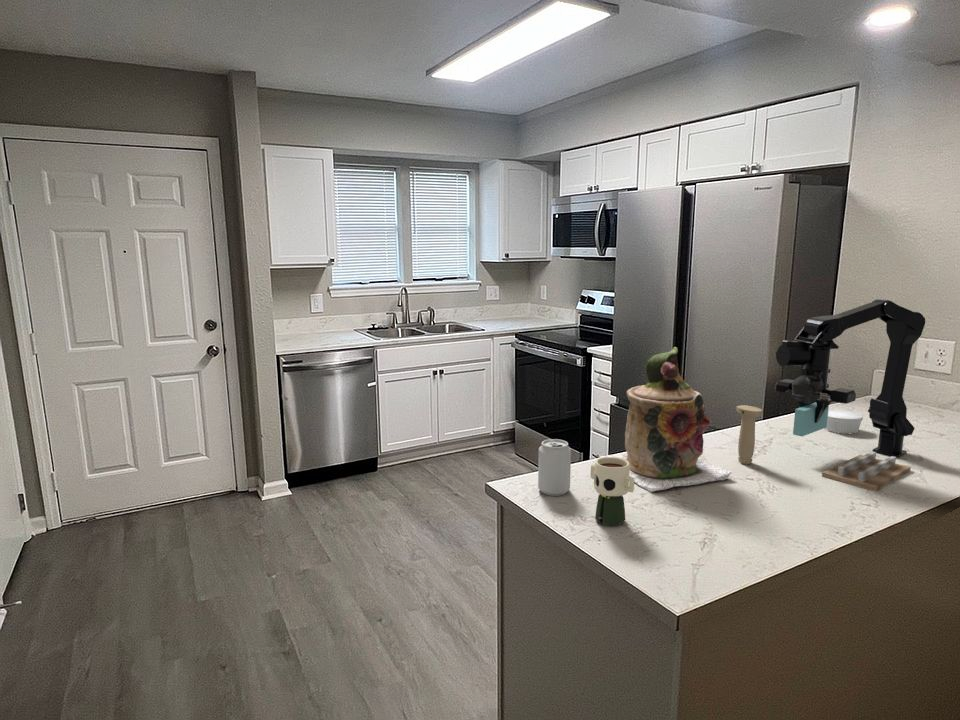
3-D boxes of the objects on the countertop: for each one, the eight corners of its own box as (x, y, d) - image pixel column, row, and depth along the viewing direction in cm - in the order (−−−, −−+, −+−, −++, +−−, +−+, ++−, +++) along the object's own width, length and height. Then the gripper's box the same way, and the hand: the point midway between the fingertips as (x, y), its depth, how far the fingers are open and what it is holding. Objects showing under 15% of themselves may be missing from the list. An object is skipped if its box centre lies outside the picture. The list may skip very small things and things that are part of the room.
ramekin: (811, 427, 194) (813, 411, 193) (835, 423, 199) (836, 408, 198) (845, 437, 184) (847, 420, 183) (868, 432, 189) (870, 416, 188)
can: (549, 499, 139) (550, 449, 137) (532, 488, 145) (532, 440, 143) (576, 493, 142) (577, 444, 140) (558, 482, 149) (559, 435, 147)
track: (859, 458, 166) (860, 447, 165) (910, 470, 156) (911, 459, 156) (821, 476, 153) (823, 464, 152) (875, 491, 143) (876, 478, 143)
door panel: (817, 425, 171) (820, 401, 169) (826, 427, 169) (829, 402, 167) (792, 434, 162) (795, 409, 161) (802, 436, 160) (804, 410, 159)
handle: (749, 468, 159) (753, 412, 156) (728, 460, 164) (732, 406, 161) (761, 464, 161) (766, 409, 158) (740, 457, 166) (744, 404, 164)
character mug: (579, 517, 130) (580, 459, 127) (600, 508, 134) (602, 452, 132) (621, 535, 121) (623, 473, 119) (642, 525, 126) (644, 465, 124)
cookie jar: (595, 461, 164) (599, 344, 158) (669, 450, 173) (675, 339, 167) (653, 495, 141) (660, 360, 135) (735, 480, 150) (745, 353, 145)
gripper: (766, 363, 165) (762, 419, 168) (840, 374, 150) (833, 435, 153) (787, 359, 171) (782, 412, 174) (859, 369, 157) (853, 427, 159)
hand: (810, 421), depth 165 cm, fingers closed on door panel, 2 cm apart
